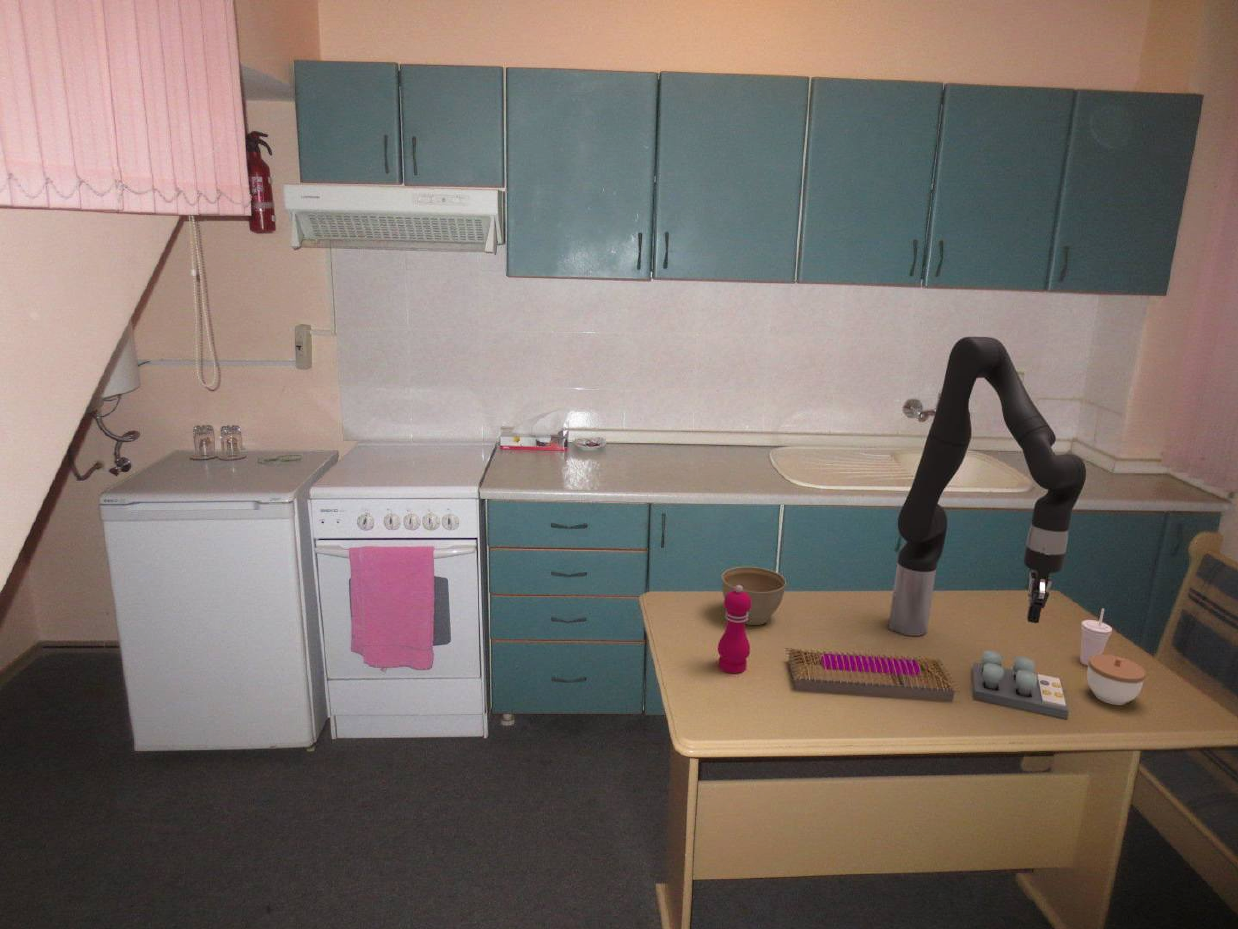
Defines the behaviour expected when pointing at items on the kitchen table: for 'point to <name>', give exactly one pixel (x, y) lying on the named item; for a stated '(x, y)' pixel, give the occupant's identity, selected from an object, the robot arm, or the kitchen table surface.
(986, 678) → the button near left
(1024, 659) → the button far right
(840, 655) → the rafter model
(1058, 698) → the button board
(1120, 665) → the lidded jar
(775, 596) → the planter bowl
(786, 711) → the kitchen table surface
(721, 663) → the pepper mill
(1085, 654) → the smoothie
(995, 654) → the button far left
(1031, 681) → the button near right
